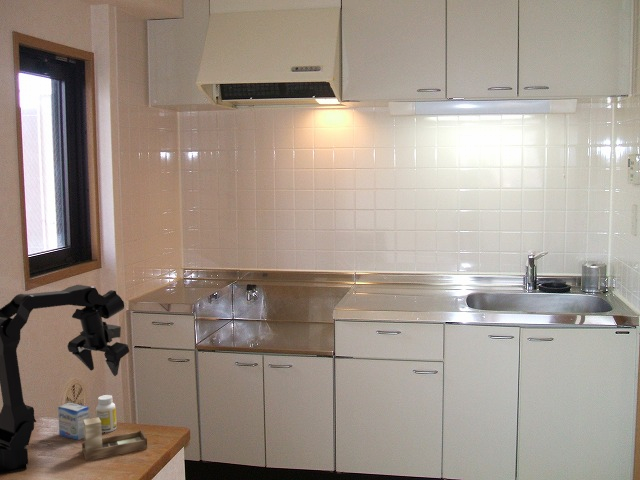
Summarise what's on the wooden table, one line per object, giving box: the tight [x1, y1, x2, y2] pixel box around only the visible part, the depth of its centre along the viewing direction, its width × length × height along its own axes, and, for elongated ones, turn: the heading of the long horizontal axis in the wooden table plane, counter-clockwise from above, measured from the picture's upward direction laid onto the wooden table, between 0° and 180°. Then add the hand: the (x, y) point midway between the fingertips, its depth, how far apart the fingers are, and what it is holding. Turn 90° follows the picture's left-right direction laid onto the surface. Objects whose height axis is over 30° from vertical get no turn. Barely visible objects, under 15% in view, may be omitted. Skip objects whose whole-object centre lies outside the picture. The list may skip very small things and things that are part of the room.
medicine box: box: [57, 402, 90, 441], centre depth 196 cm, size 8×4×9 cm, turn 62°
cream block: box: [83, 416, 103, 451], centre depth 183 cm, size 4×4×8 cm
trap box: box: [81, 428, 148, 462], centre depth 186 cm, size 16×7×3 cm, turn 117°
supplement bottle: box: [95, 394, 117, 433], centre depth 199 cm, size 5×5×10 cm
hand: (104, 372), depth 201 cm, fingers open, 9 cm apart
